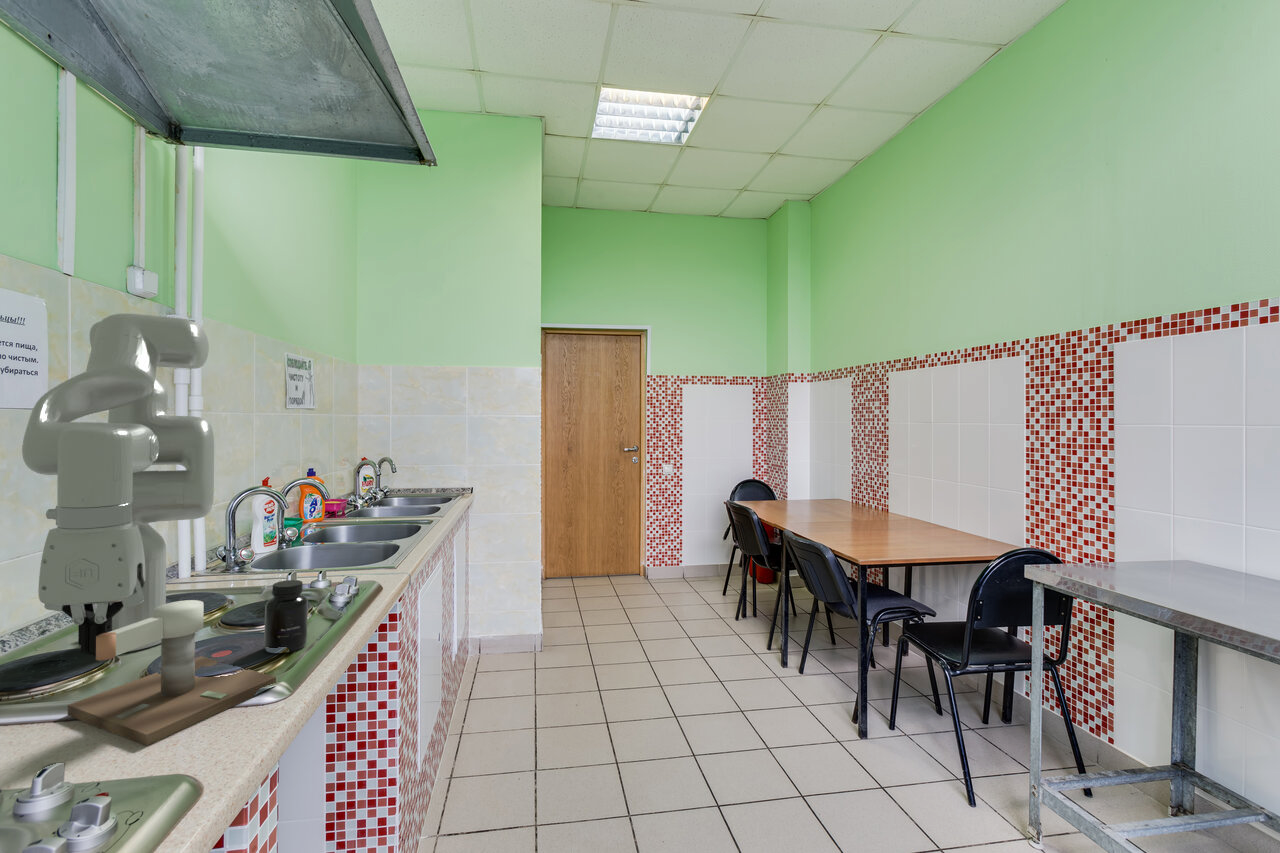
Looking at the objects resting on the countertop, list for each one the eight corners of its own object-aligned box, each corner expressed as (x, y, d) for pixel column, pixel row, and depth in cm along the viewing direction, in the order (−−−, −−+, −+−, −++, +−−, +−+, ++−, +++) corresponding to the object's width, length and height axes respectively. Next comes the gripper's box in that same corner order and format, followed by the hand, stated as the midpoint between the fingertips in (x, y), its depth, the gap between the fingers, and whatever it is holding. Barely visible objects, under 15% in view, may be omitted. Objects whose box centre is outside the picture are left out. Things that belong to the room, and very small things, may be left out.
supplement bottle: (287, 657, 104) (288, 590, 103) (254, 652, 105) (255, 587, 105) (315, 642, 110) (316, 579, 110) (285, 638, 112) (286, 576, 111)
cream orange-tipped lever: (181, 621, 91) (181, 598, 91) (213, 625, 90) (213, 602, 90) (79, 658, 77) (80, 631, 77) (116, 663, 76) (116, 636, 76)
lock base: (67, 715, 83) (67, 643, 82) (201, 664, 100) (202, 604, 99) (146, 745, 76) (147, 668, 76) (275, 686, 93) (276, 622, 93)
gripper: (5, 523, 74) (5, 666, 74) (146, 521, 78) (145, 656, 78) (47, 512, 81) (47, 642, 81) (174, 511, 85) (173, 635, 86)
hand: (95, 649), depth 80 cm, fingers closed
